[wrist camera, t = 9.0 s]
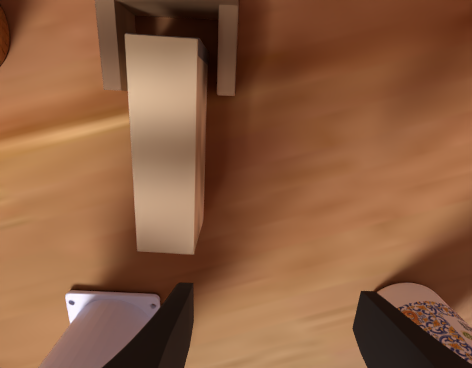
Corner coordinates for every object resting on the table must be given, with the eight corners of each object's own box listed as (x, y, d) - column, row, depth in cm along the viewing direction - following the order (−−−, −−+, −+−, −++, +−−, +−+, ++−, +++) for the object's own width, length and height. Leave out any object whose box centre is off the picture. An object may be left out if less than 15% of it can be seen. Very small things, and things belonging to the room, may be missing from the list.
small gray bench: (234, 95, 18) (232, 95, 11) (124, 90, 18) (51, 87, 11) (239, -8, 16) (239, -87, 9) (116, -14, 16) (23, -98, 9)
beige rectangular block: (204, 219, 21) (194, 254, 17) (159, 216, 21) (136, 251, 17) (209, 52, 18) (198, 36, 13) (154, 48, 18) (123, 31, 13)
